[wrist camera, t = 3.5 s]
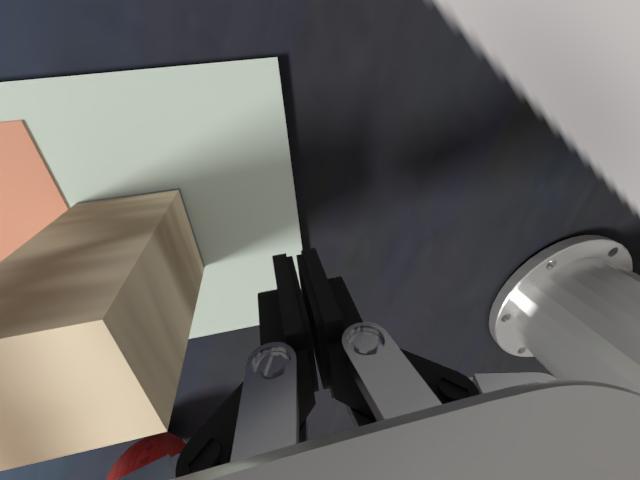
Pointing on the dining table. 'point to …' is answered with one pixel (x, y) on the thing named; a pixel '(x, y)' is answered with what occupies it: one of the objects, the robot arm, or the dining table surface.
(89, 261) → the maple block
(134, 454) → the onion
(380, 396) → the robot arm
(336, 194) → the dining table surface
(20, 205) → the mat
